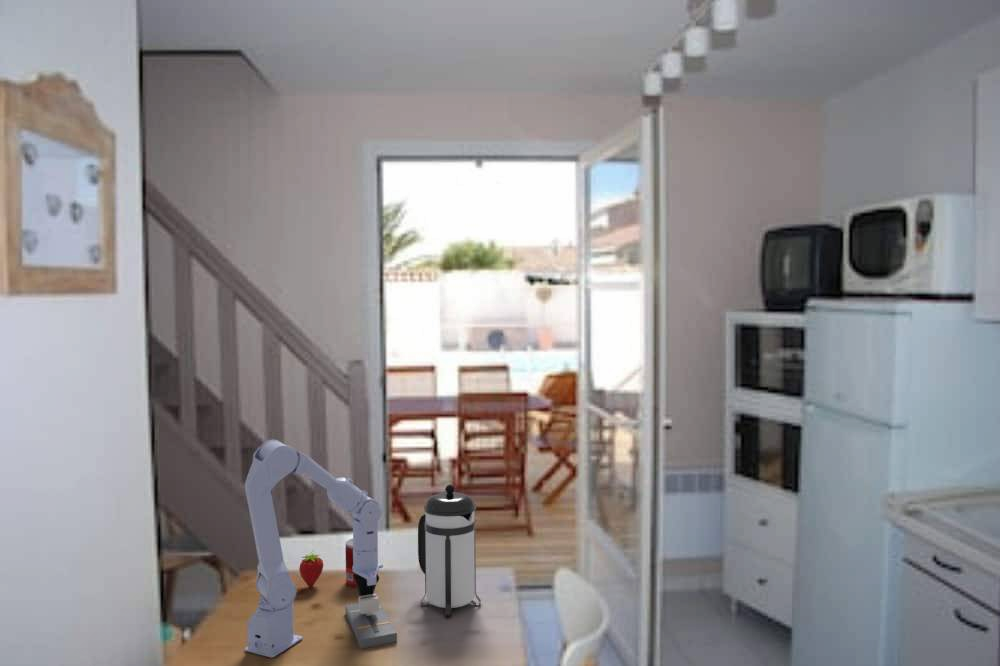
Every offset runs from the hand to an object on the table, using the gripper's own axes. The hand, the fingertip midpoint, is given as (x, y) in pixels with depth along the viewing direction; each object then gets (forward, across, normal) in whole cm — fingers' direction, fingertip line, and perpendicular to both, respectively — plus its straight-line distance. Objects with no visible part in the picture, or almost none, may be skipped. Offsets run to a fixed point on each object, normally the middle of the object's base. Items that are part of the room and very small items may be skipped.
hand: (366, 604), depth 160 cm
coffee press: (+4, 0, -20) cm, 20 cm away
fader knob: (+1, -3, 0) cm, 3 cm away
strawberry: (+4, +25, +10) cm, 27 cm away
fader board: (+3, -4, 0) cm, 6 cm away
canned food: (+4, +23, -3) cm, 23 cm away
